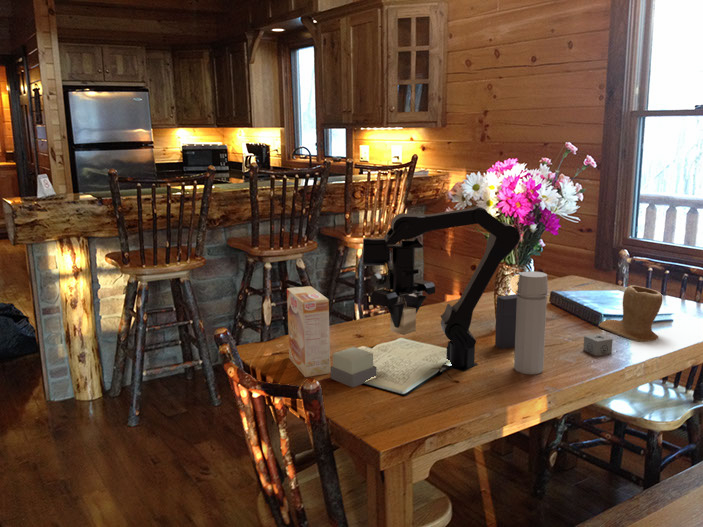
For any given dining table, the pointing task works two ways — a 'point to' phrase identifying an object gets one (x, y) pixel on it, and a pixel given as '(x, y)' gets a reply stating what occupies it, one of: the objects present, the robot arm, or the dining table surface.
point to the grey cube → (597, 344)
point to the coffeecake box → (308, 330)
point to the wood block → (406, 321)
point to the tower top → (352, 360)
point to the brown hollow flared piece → (636, 314)
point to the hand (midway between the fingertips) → (403, 325)
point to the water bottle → (530, 322)
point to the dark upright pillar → (506, 321)
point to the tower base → (352, 376)
